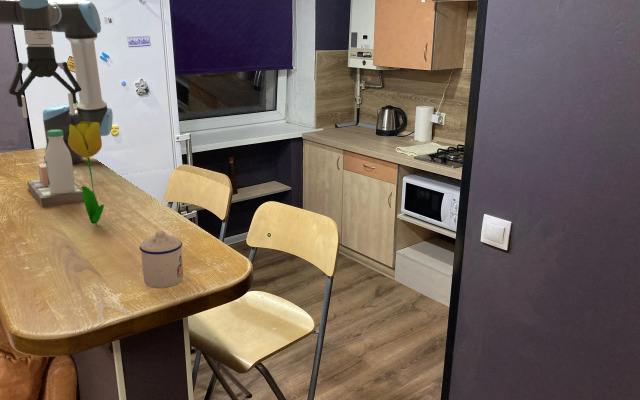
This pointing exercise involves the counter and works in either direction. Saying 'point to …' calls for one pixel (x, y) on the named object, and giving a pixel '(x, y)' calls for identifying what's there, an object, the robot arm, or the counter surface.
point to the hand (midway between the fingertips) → (49, 115)
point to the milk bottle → (59, 164)
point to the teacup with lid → (162, 260)
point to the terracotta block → (43, 173)
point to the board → (51, 199)
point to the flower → (86, 145)
